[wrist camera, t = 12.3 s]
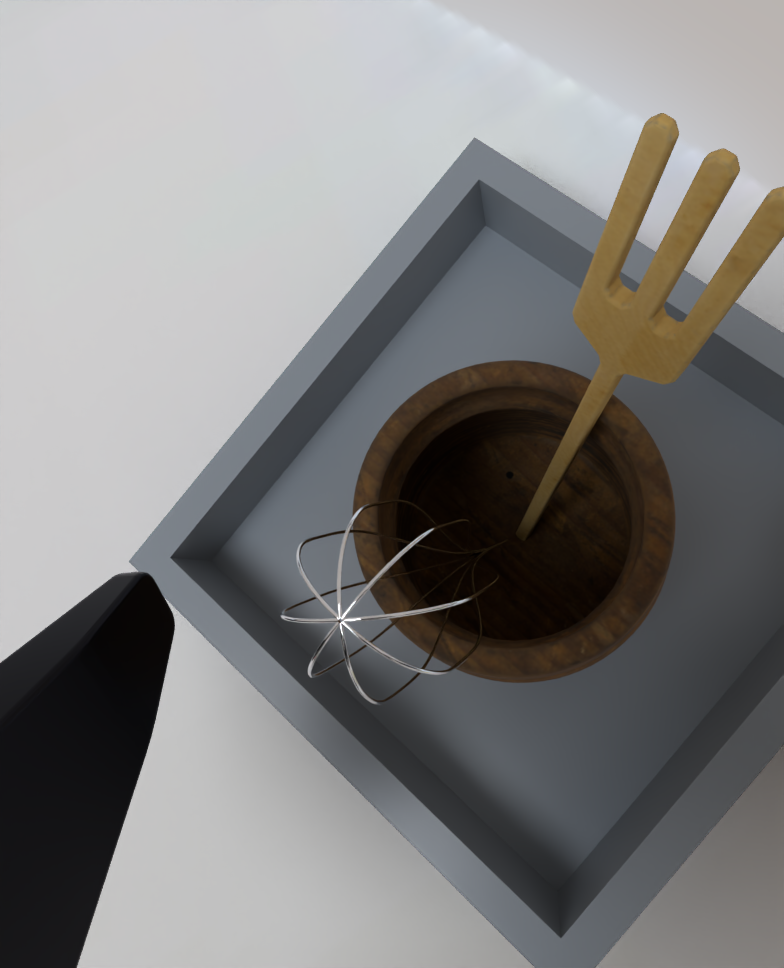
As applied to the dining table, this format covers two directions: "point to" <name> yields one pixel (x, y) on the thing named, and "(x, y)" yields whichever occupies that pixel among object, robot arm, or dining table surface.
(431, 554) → the utensil holder
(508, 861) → the tray
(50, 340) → the dining table surface
